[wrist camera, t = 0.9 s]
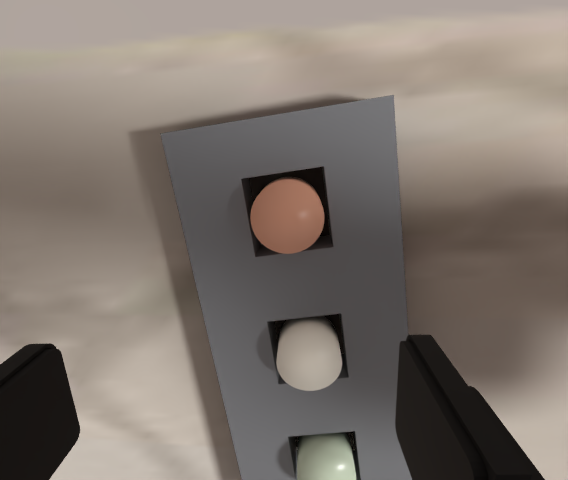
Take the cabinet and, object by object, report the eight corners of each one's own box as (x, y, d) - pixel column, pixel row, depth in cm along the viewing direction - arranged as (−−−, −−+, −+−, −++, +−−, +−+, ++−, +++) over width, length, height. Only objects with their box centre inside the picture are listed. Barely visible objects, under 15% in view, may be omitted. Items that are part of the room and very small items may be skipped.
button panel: (381, 101, 22) (393, 95, 20) (408, 477, 31) (419, 512, 28) (177, 135, 24) (160, 133, 21) (256, 487, 32) (251, 521, 29)
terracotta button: (317, 171, 22) (319, 176, 19) (325, 236, 24) (328, 248, 21) (251, 181, 23) (244, 187, 20) (262, 244, 24) (257, 257, 21)
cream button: (334, 309, 25) (338, 330, 22) (340, 361, 26) (345, 387, 23) (275, 315, 25) (271, 337, 22) (283, 366, 26) (281, 393, 24)
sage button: (347, 420, 28) (353, 452, 25) (353, 463, 29) (358, 499, 26) (294, 425, 28) (293, 457, 25) (301, 467, 29) (301, 502, 26)
